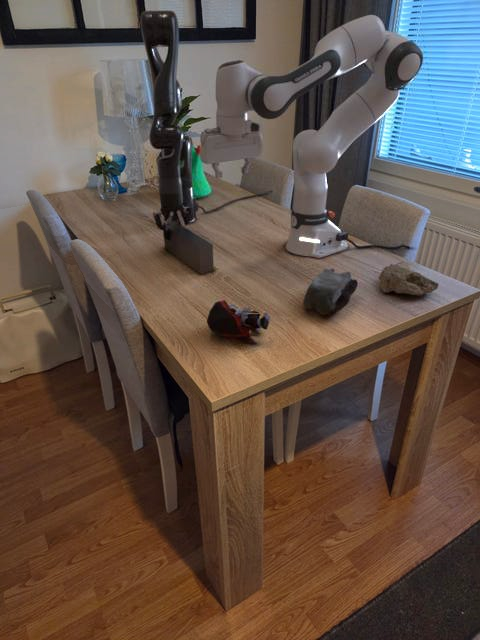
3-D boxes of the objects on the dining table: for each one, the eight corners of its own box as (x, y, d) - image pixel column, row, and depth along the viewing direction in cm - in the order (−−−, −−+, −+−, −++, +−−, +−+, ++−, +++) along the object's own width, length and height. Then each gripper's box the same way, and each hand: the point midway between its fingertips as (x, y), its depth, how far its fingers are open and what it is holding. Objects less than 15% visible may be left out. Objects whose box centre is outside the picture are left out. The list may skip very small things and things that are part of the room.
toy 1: (167, 190, 223) (163, 137, 210) (207, 188, 227) (205, 135, 214) (172, 202, 206) (167, 145, 193) (214, 199, 210) (213, 143, 197)
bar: (164, 248, 160) (162, 224, 155) (176, 245, 162) (175, 221, 157) (200, 274, 142) (199, 247, 137) (213, 270, 144) (212, 244, 139)
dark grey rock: (338, 325, 116) (342, 298, 112) (298, 314, 120) (300, 288, 116) (357, 296, 130) (361, 271, 126) (321, 287, 134) (323, 263, 130)
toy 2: (264, 297, 102) (206, 289, 108) (254, 335, 100) (195, 325, 105) (276, 315, 113) (223, 308, 119) (267, 350, 110) (213, 341, 116)
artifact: (399, 307, 125) (440, 299, 130) (406, 284, 121) (449, 278, 126) (362, 275, 139) (401, 270, 144) (368, 254, 135) (408, 249, 140)
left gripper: (155, 196, 141) (160, 246, 150) (195, 189, 148) (197, 237, 157) (146, 190, 147) (151, 239, 155) (184, 184, 153) (187, 231, 162)
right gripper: (206, 131, 120) (207, 182, 127) (266, 124, 130) (264, 173, 137) (194, 127, 124) (197, 178, 132) (253, 122, 134) (252, 169, 142)
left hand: (174, 238), depth 156 cm, fingers closed on bar, 5 cm apart
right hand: (232, 175), depth 134 cm, fingers open, 8 cm apart
